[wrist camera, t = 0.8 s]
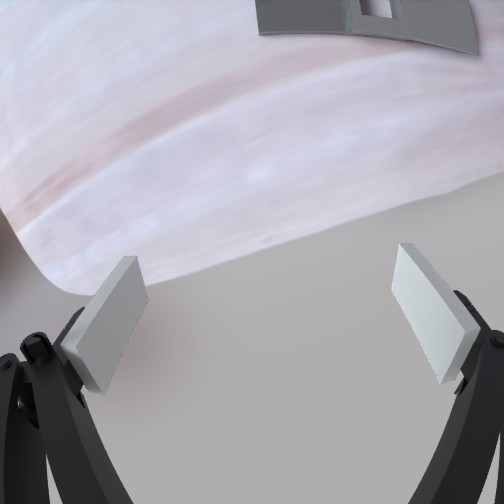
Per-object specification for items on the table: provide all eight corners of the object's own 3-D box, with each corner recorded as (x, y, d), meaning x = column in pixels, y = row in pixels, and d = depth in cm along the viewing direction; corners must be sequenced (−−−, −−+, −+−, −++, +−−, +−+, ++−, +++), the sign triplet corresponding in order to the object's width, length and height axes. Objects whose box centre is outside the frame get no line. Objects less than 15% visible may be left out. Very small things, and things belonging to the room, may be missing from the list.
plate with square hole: (251, -28, 25) (250, -38, 22) (456, -2, 23) (467, -6, 20) (259, 35, 29) (258, 29, 27) (466, 55, 27) (478, 54, 25)
